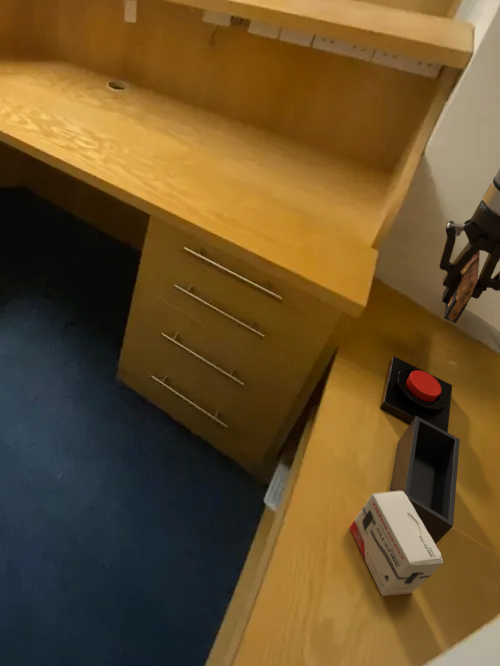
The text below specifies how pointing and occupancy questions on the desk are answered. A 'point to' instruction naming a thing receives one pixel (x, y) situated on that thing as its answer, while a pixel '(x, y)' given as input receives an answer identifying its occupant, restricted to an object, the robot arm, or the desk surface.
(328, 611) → the desk surface
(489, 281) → the robot arm
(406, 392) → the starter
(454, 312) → the ammunition clip
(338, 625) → the desk surface
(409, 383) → the button
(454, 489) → the box
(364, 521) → the ink box
